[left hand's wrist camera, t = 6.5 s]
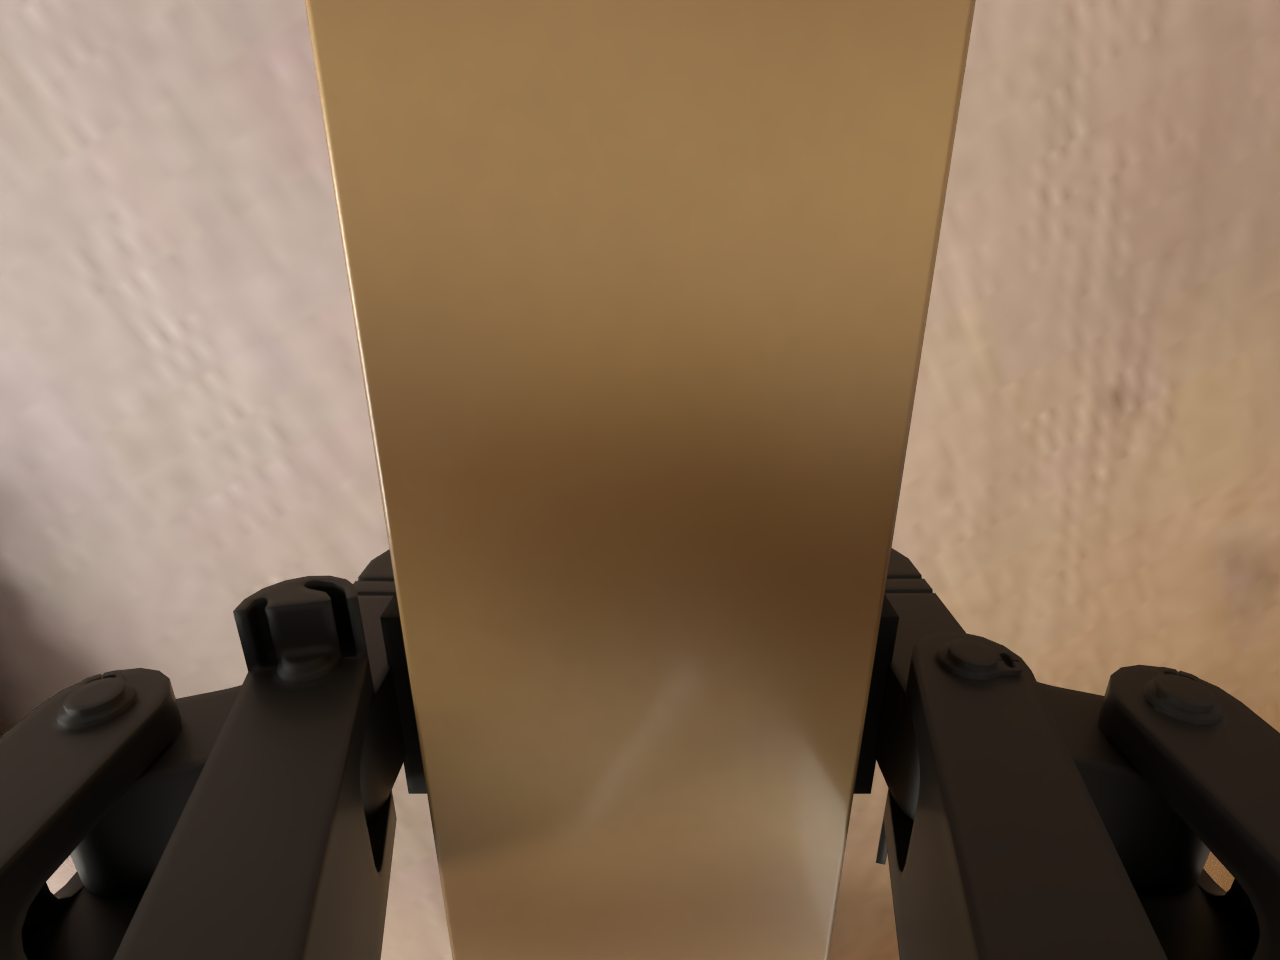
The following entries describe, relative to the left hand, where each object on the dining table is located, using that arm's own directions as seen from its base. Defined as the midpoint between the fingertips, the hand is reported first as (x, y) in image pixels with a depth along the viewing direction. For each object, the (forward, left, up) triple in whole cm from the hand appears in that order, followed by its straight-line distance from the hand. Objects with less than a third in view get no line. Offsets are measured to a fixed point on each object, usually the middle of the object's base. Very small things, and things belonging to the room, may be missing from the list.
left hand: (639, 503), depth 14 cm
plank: (+22, 0, -1) cm, 22 cm away
